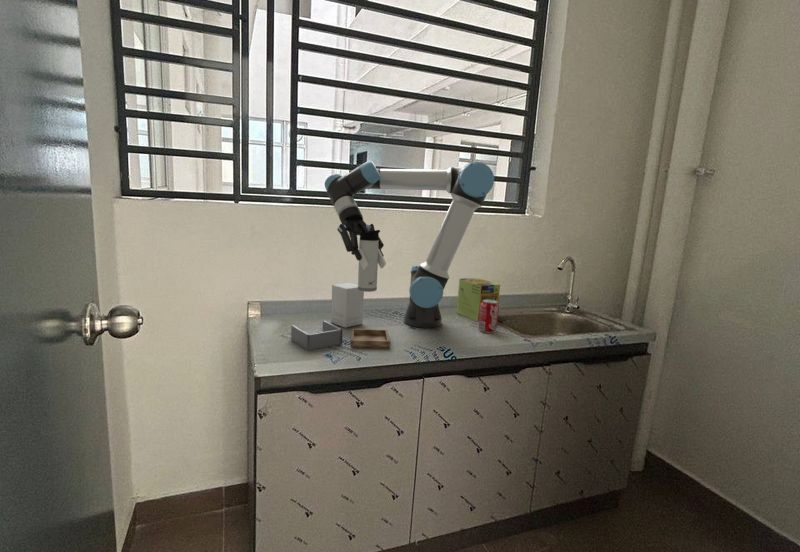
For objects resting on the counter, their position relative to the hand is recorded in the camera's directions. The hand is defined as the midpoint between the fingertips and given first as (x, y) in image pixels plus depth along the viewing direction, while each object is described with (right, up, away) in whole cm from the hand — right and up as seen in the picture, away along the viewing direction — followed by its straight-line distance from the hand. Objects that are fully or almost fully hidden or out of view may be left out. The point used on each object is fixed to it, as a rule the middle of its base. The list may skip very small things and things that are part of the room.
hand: (374, 266), depth 143 cm
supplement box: (-12, -21, +27) cm, 37 cm away
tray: (-2, -25, +8) cm, 27 cm away
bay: (-20, -25, +5) cm, 32 cm away
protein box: (+41, -21, +49) cm, 68 cm away
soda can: (+42, -25, +28) cm, 56 cm away
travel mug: (-3, -8, +4) cm, 9 cm away
